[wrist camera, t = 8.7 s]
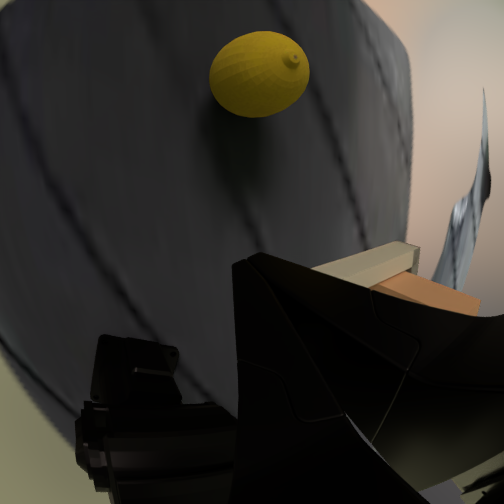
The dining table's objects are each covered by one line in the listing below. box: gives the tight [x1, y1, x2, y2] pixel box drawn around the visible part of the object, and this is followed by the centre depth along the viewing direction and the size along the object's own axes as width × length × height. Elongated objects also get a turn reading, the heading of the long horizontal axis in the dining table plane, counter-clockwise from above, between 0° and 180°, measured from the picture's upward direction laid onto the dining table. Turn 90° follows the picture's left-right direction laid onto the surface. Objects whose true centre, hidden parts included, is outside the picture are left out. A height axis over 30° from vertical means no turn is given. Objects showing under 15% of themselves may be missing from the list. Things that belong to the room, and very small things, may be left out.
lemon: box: [209, 31, 310, 118], centre depth 16 cm, size 6×6×8 cm
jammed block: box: [368, 271, 481, 316], centre depth 26 cm, size 5×5×12 cm
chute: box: [311, 241, 420, 288], centre depth 29 cm, size 19×10×4 cm, turn 96°
